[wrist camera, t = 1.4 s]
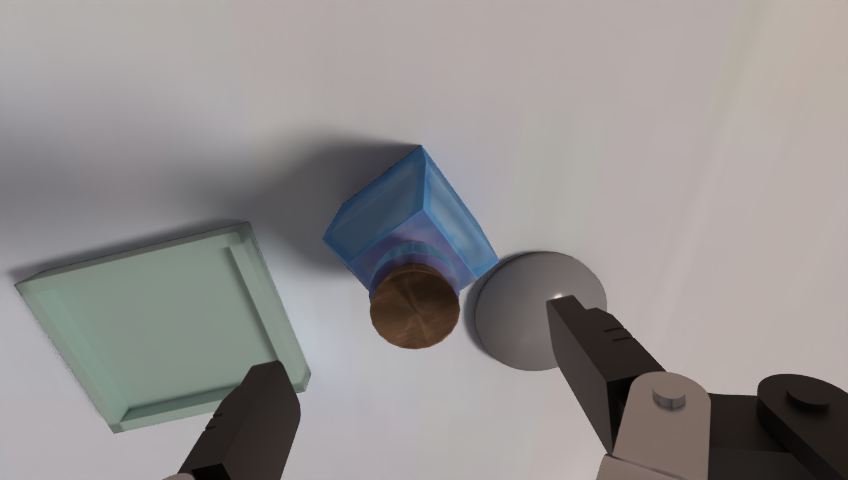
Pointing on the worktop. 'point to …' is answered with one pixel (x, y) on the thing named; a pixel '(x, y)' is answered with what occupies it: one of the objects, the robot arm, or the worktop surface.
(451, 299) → the perfume bottle
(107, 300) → the tray
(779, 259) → the worktop surface
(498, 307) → the grey domed puck
